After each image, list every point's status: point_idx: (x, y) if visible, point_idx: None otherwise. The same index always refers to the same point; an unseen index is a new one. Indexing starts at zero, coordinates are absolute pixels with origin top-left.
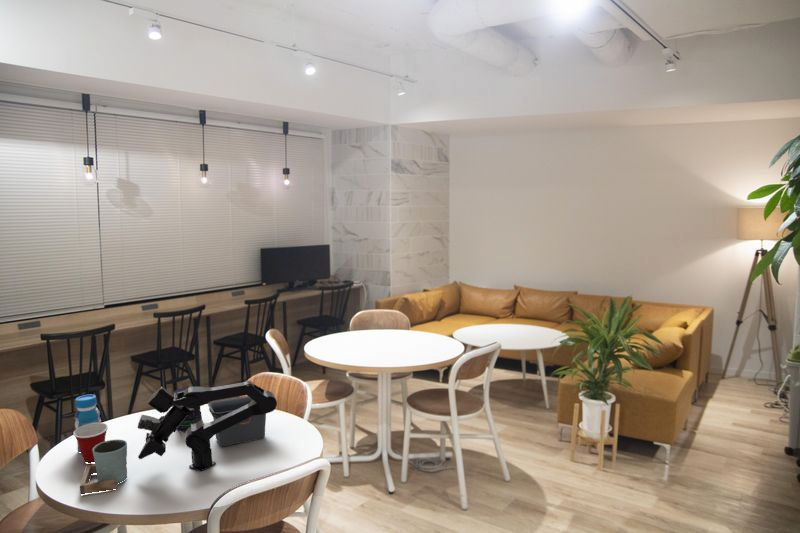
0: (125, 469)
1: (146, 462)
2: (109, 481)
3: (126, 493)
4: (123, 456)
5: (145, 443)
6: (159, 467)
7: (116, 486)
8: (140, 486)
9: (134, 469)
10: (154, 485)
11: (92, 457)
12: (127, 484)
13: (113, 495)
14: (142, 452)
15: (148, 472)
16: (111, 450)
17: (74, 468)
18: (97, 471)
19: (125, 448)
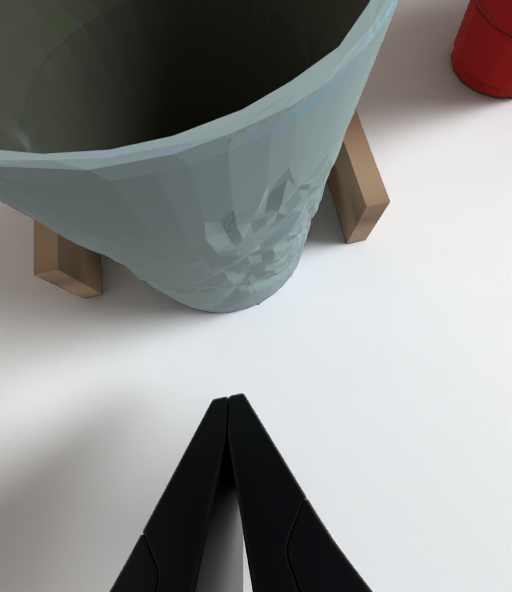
0: (184, 296)
1: (478, 379)
2: (36, 238)
3: (22, 370)
4: (80, 240)
5: (325, 590)
6: (382, 516)
7: (81, 289)
8: (90, 440)
9: (365, 323)
10: (70, 552)
11: (475, 27)
12: (147, 340)
13: (27, 299)
14: (170, 493)
15: (302, 442)
16: (315, 56)
17: (408, 15)
18: (135, 113)
19: (55, 204)
